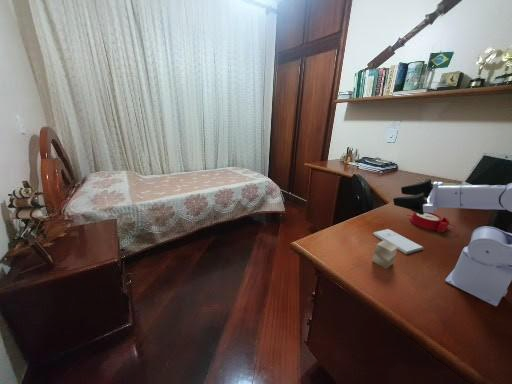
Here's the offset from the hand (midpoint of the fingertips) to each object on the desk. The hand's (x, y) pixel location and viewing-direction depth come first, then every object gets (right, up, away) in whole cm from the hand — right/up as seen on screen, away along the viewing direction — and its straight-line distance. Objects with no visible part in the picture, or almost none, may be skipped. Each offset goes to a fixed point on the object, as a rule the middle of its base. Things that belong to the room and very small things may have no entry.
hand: (398, 195), depth 62 cm
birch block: (-5, -20, 0) cm, 21 cm away
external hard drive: (+7, -17, +11) cm, 21 cm away
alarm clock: (+29, -13, +23) cm, 39 cm away
